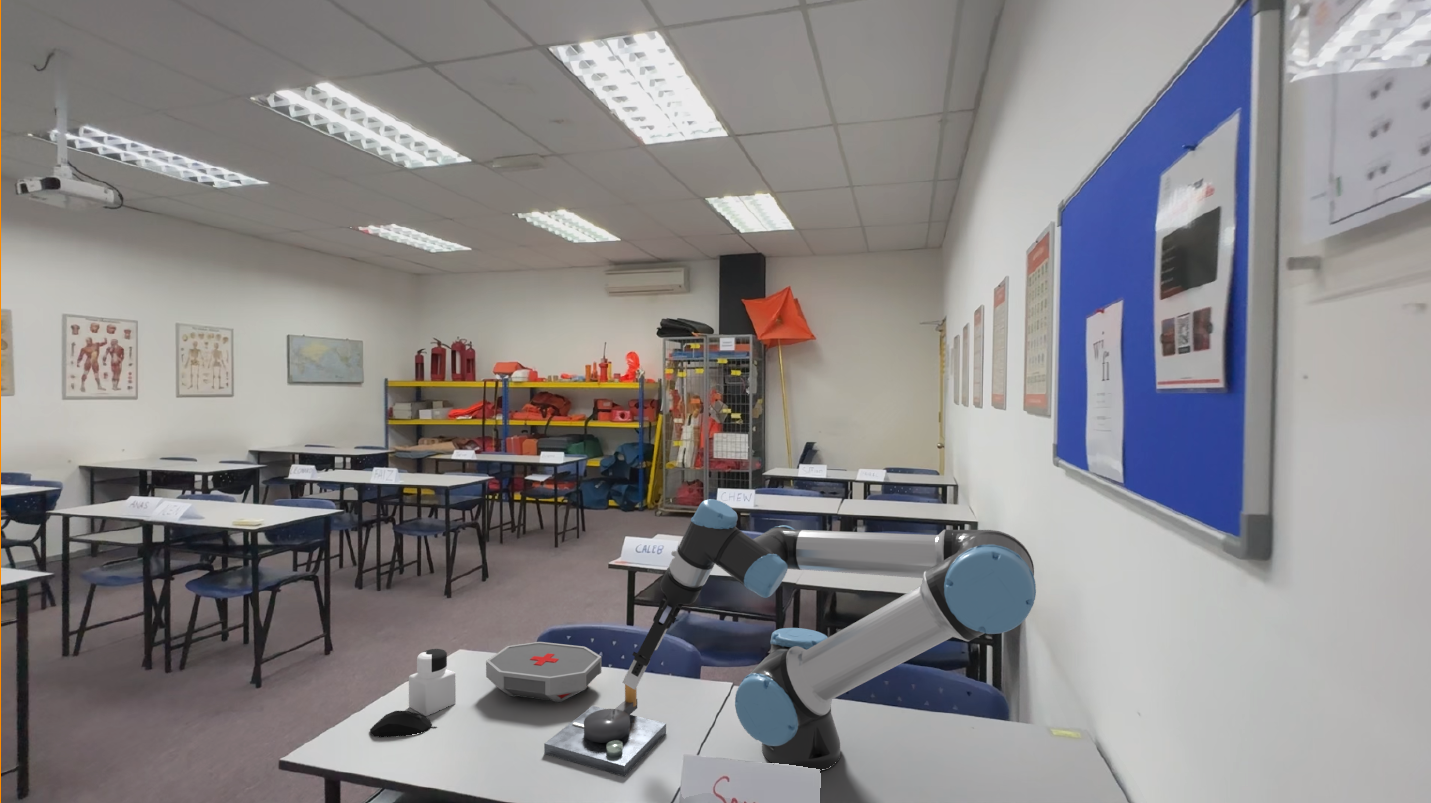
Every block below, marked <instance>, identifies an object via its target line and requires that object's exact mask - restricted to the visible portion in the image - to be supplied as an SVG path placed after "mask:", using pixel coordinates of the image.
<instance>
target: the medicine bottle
mask: <svg viewBox="0 0 1431 803" xmlns="http://www.w3.org/2000/svg"><path fill="white" fill-rule="evenodd" d="M447 654H448V652H447V651H446V650H444V649H442V648H431V649H427V650H424V651H422V652H421V653H419V654H418V655H417V657H416V672H415V673H413V674H412V673H411V674H410V675H409V676H408V707H409V708H411V709H412V710H414V711H416V713H418V714H419V713H420V715H423V716H425V717H428V716H430V714H431V715H433V714H435V713H437V712H439V710H440V711H441V710H444V709H447V708H449V707H452V706H453V705H455V704H456V698H457V697H456V696H457V695H456V691H457V690H456V689H457V688H456V683H457V682H456V672H455V671H452V670H450V669H448V655H447ZM448 706H449V707H448ZM446 707H447V708H446Z"/></svg>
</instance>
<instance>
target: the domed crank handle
mask: <svg viewBox="0 0 1431 803" xmlns="http://www.w3.org/2000/svg"><path fill="white" fill-rule="evenodd" d="M637 688H638V686H637V687H636V689H635V690H634V689H632V688H631V687H629V686H627V685H626V684H624V701H622V702H621V703H620V704H619V705H617V706H616V707H615V708H604V709H603V710H599V711H595V712H593V713H591V714H590V715H588V716H587V717H586V718H585V720H584V735H585V737H586V738H587V739H589V740H591V741H593V742H599V743H608V742H610V741H614V740H619V739H622V738H623V737H625V736H626V735H627V734H628V733H629V731H630V717H629V715H632V713H633V712H635V711H636V710H637V709H638V698H637V695H638V694H637Z"/></svg>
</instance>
